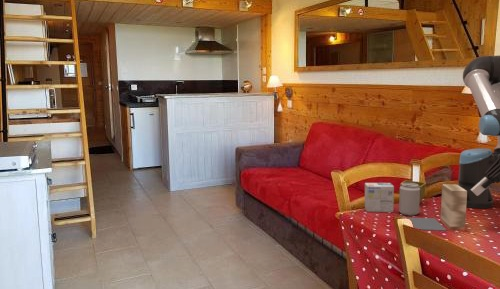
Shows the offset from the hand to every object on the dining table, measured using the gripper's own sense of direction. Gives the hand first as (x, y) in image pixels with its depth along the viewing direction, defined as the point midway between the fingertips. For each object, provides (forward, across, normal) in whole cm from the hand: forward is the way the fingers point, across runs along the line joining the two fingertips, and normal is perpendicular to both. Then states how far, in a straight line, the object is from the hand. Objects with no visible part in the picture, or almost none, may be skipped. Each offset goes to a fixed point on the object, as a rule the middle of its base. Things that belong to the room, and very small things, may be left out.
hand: (474, 192), depth 142 cm
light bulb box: (+29, +19, +12) cm, 37 cm away
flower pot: (+18, +30, 0) cm, 34 cm away
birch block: (+13, +1, -4) cm, 14 cm away
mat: (+21, +2, +3) cm, 21 cm away
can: (+22, +15, +4) cm, 26 cm away
